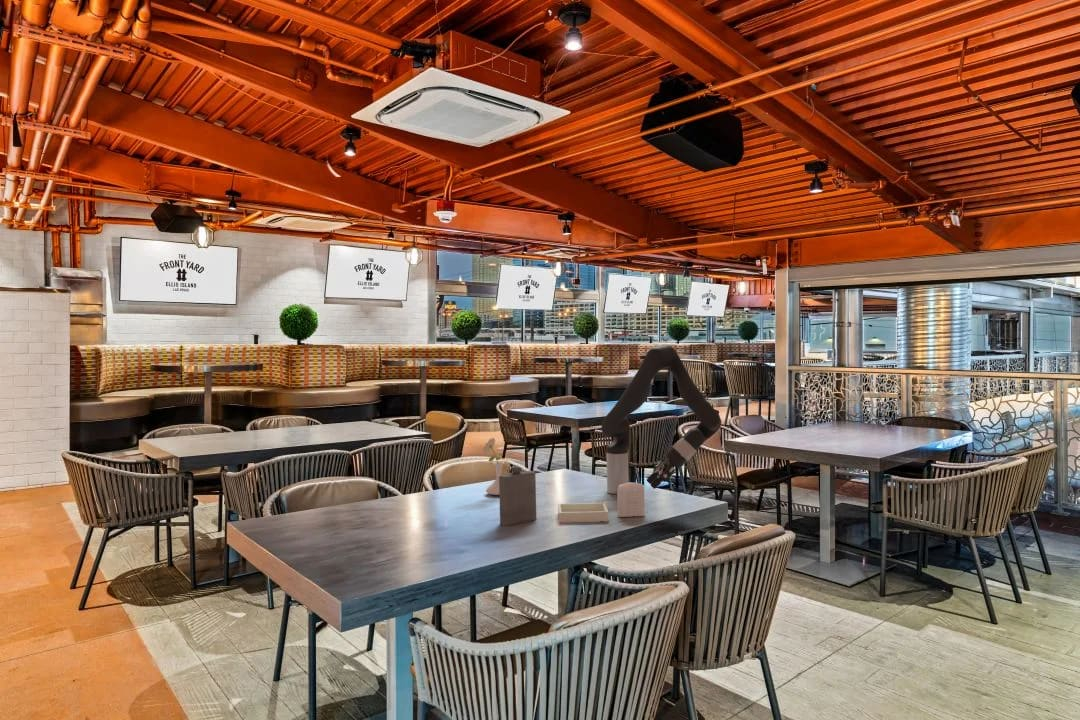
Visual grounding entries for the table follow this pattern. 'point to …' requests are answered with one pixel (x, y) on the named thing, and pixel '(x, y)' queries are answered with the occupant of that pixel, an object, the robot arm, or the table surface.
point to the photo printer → (630, 500)
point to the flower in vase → (494, 487)
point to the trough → (583, 512)
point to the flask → (517, 496)
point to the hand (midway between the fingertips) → (650, 484)
